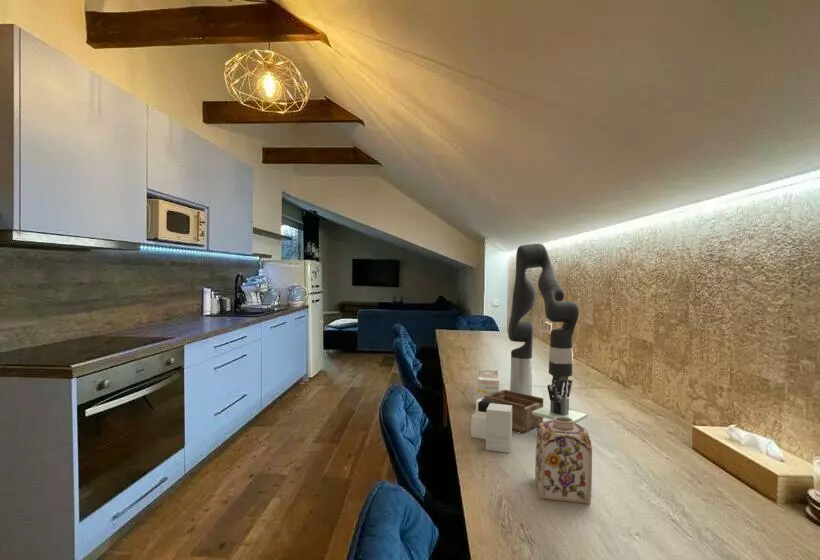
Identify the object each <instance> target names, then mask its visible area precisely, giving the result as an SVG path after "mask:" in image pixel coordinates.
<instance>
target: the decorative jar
mask: <svg viewBox="0 0 820 560" xmlns="http://www.w3.org/2000/svg"><path fill="white" fill-rule="evenodd" d="M589 434H590V433H589V431H588V429H587V428H586V427H584V426H582V425H580V424H578V423H573V419H571V418H568V417H555V418H554V420H551V419H549V420H547V421H546V420H545V421H543V422H542V423H540V424H539V426H538V427H537V428H536V437H535V438H536V439H535V444H536V445H535V462H534V464H535V468H534V469H535V473H534V475H535V482H536V485H537V491H538V495H539V497H540V499H542V500H550V501H560V502H568V503H577V504H586V505H587V504H588V505H590V504H591V501H592V483H593V481H592V478H593V477H592V476H593V446H592V440H590V435H589Z"/></svg>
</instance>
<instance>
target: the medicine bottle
mask: <svg viewBox="0 0 820 560" xmlns="http://www.w3.org/2000/svg"><path fill="white" fill-rule="evenodd" d="M490 403H493V404H494V401H492V400H491V399H487V398H481V399H478V400H477V399H476V400H475V412H474V413H473V414H472V415H471V418H470V419H471V422H470V423H471V424H470V425H471V426H470V432H471V433H470V436H471V438H474V439H475V438H476V439H480V440H485V439H486V409H487V408H488V406H489V404H490Z"/></svg>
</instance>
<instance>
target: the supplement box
mask: <svg viewBox="0 0 820 560" xmlns="http://www.w3.org/2000/svg"><path fill="white" fill-rule="evenodd" d="M512 446H513V431H512V405H503V404H493V403H490V404H489V406H488V408H487V409H486V440H485V448H486V449H485V450H486V451H491V452H499V453H500V452H501V453H508V454H510V453H511V450H512Z"/></svg>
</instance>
